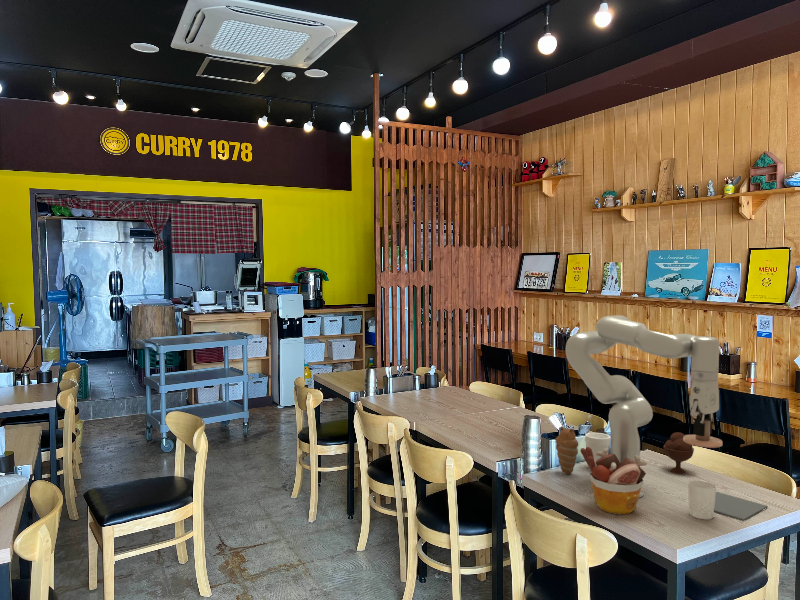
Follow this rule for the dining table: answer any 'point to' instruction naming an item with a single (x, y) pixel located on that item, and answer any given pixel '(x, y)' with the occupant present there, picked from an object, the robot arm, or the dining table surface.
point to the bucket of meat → (615, 481)
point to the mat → (736, 506)
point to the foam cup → (597, 443)
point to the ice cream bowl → (678, 451)
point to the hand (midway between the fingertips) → (702, 433)
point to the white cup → (701, 499)
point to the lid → (703, 438)
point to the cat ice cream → (567, 449)
